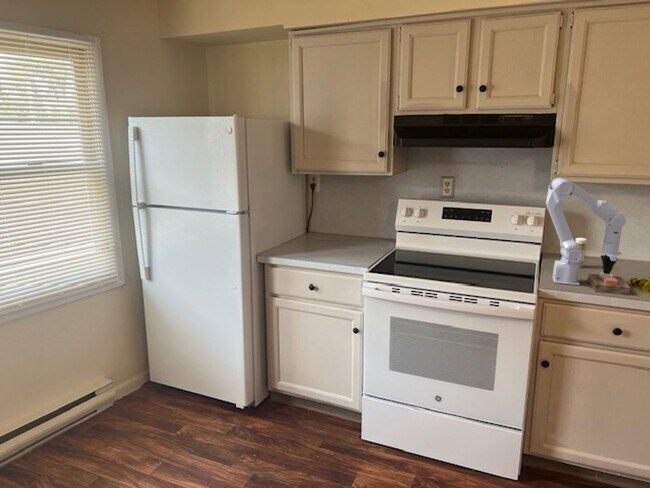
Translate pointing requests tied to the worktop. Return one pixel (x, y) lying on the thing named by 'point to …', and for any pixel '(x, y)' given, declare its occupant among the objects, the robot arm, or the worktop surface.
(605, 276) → the white key
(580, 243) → the sprinkles bottle
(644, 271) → the worktop surface
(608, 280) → the red key
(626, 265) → the worktop surface
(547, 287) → the worktop surface
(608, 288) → the key box
